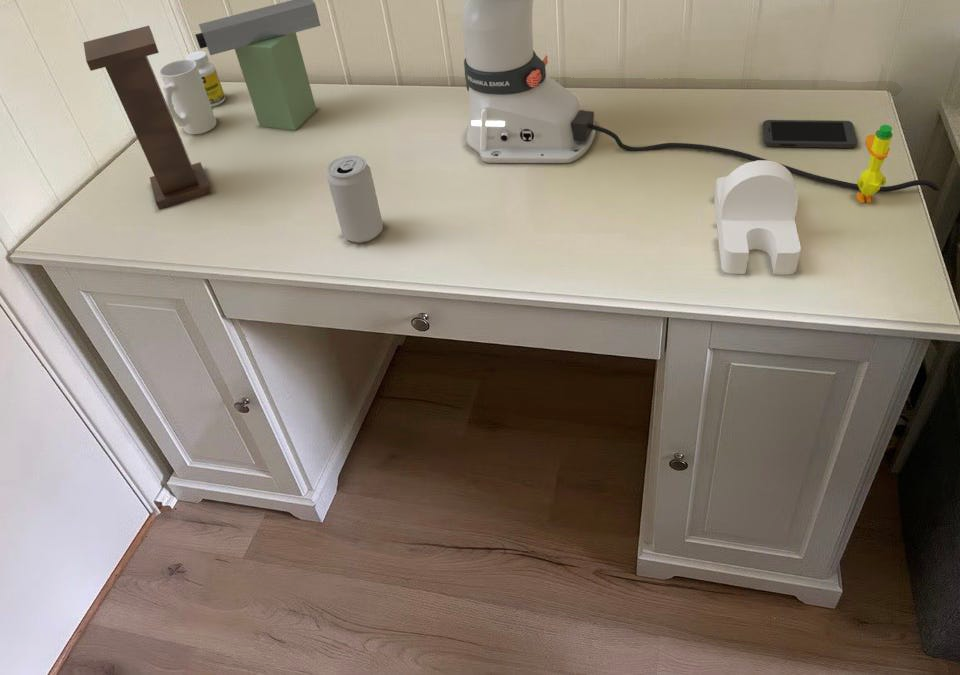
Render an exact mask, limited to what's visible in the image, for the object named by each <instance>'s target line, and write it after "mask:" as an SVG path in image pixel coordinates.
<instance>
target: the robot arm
mask: <svg viewBox="0 0 960 675" xmlns="http://www.w3.org/2000/svg"><path fill="white" fill-rule="evenodd" d="M533 6H534V0H466V2H465V4H464V5H463V8H462V12H461V17H460V18H461V19H460V20H461V30H462V37H463V38H462V39H463V47H464V54H465V58H464V60H463V67H464V68H463V69H464V80H465V86H466V89H467V92H468V120H467V121H468V123H467V130H466V134H465V140H466V143H467V145H468V147H470V148H471V149H472V150H474V151H475V152H477V153H478V154H479V156H480V158H481V160H482V162H484V163H487V164H488V163H490V164H570V163H572V162H575V161H577V160H579V159H580V158H581V157H582V156H584V154H586V152H588V150H589V149H590V147H591V146H592V144H593V142H594V140H595V137H596V133H597V132H598V133H603V134H605V135H607V136H609V137H611V138H612V139H614V141H615V143H616V144H617V146H618V147H619V148H620V149H622V150H625V151H628V152H646V151H647V152H648V151H655V150H656V151H657V150H661V149H671V148H672V149H673V148H674V149H692V150H702V151H708V152H715V153H720V154H726V155H730V156H735V157H739V158H741V159H746V160H748V161H751V162H753V161H757V160H768V161H770V160H769V159H766V158H763V157H759V156H756V155H752V154H750V153H746V152H743V151H739V150H735V149H730V148H725V147H721V146H720V147H719V146H715V145H707V144H701V143H700V144H699V143H689V142H688V143H687V142H664V143H657V144H652V145H646V146H630V145H627V144H625V143H623V142H622V139H621V138H620V137H619V136H618V135H617V134H616V133H615V132H614V131H612V130H610V129H607V128H605V127H602V126H599V125H596V124H595V111H591V110H583V109H582V108H581V104H580V101H579V98H578V97H577V95H575V94H574V93H573V92H572V91H570V90H568V89H567V88H566V87H564V86H562V85H561V84H560V83H558V82H557V81H555V79H553V78H551V77H550V76H549V75H548V74H547V73H546V72H547V71H546V70H547V69H546V66H547V65H548V55H545V56H544V58H543V59H541V58H540V57H539V56H538V55H537V53H536V51H535V50H534V38H533V37H534V36H533V35H534V34H533V8H534V7H533ZM780 164H781V165H783V166H785V167H786V168H787V169H788V170H789V171H790V173H791V174H793V175H797V176H799V177H802V178H806V179H809V180H812V181H816V182H821V183H825V184H828V185H832V186H837V187H842V188H845V189H846V188H847V189H852V190H857V191H860V189H859V187H858V184H857V183H853V182H850V181H849V182H848V181H843V180H839V179H834V178H830V177H825V176H821V175H817V174H813V173H811V172H807V171H805V170H801V169H797V168H795V167H792V166H789V165H786V164H783V163H780ZM916 186H926V187H929V188H931V189H932V190H933V191H937V192H939V191H941V190H942V189H941V188H940V186H939V185H938V184H937V183H935V182H933V181H931V180H928V179H915V180H910V181H906V182H902V183H899V184H894V185H887V186H886V185H884V186H883V185H881V187H880V190H878V191H877V192H876V193H889V192H897V191H899V190H904V189H907V188H911V187H916Z"/></svg>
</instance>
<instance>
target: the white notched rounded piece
mask: <svg viewBox="0 0 960 675" xmlns="http://www.w3.org/2000/svg"><path fill="white" fill-rule="evenodd" d="M768 160H769V159H766V160H757V161H749V162H746V163H743V164H742V165H739V166H738V167H736V168H735V169H733V170H732V171H731V172H730V173H729V174H728V175H727V176H721V177H718V178H717V179H716V183H715V189H714V190H715V191H714V197H713V198H714V199H713V205H714V214H715V223H716V232H717V240H718V249H719V250H718V251H719V258H720V268H721V270H722V272H724V273H726V274H731V275H746V271H747V268H748V260H749V255H750V251H752V250H759V251H763V252H765V253H766V254H768V255H769V259H770V264H771V269H772V273H773V274H772V275H783V276H784V275H787V276H789V275H793V274H795V273H796V272H797V268H798V263H799V260H800V255H801V254H800V253H801V250H802V247H801V243H800V239H799V238H800V237H799V234H798V229H797V225H796V216H797V212H798V211H797V210H798V207H799V205H798V204H799V196H798V190H797V187H796V183H795V178H794V177H793V175H792V173H790V171H789V170H788V169H787V168H786V167H785V166H783V165H784V164H783V165H781V164H782V163H779V162H777V161H772V160H769V161H768Z"/></svg>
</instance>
